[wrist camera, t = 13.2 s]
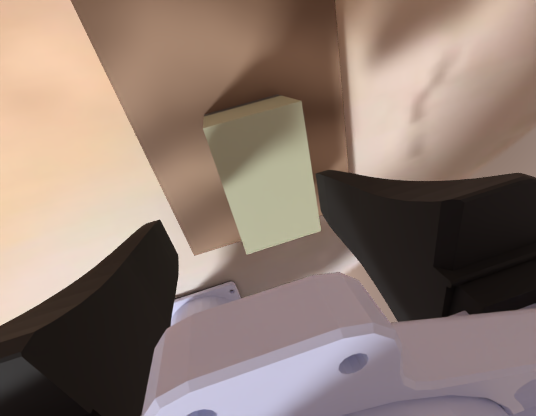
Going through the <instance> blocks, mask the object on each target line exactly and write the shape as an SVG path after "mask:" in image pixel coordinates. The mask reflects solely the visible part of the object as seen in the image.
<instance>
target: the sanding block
mask: <svg viewBox="0 0 536 416" xmlns="http://www.w3.org/2000/svg"><path fill="white" fill-rule="evenodd" d="M203 131H204V133H205V136H206V139H207V142H208V145H209V148H210V151H211V154H212V156H213V159H214V162H215V165H216V168H217V171H218V174H219V177H220V179H221V182H222V185H223V188H224V191H225V194H226V197H227V200H228V202H229V205H230V208H231V211H232V214H233V217H234V220H235V223H236V225H237V228H238V231H239V234H240V237H241V240H242V243H243V246H244V248H245V251H246V254H247V255H248V254H251V253H254V252H257V251H260V250H263V249H266V248H270V247H273V246H276V245H279V244H282V243H285V242H288V241H292V240H295V239H298V238H301V237H304V236H307V235H310V234H313V233H317V232H320V231H321V226H320V220H319V213H318V207H317V200H316V194H315V187H314V180H313V174H312V167H311V161H310V154H309V148H308V141H307V135H306V128H305V121H304V115H303V108H302V102H301V101H300V100H296V99H293V98H289V97H285V96H282V95H278V94H277V95H273V96H270V97H266V98H262V99H259V100H255V101H252V102H248V103H244V104H241V105H237V106H233V107H230V108H226V109H222V110H219V111H215V112H212V113H208V114H204V120H203Z"/></svg>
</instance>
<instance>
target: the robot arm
mask: <svg viewBox="0 0 536 416" xmlns="http://www.w3.org/2000/svg"><path fill="white" fill-rule="evenodd" d="M316 181H317V188H318V195H319V202H320V209H321V213H322V214H323V216H324V218H325V219H326V221H327V223H328V224H329V226H330V227H331V228H332V230H333V231H334V232H335V233H336V234H337V236H338V237H339V238H340V239H341V240H342V241H343V243H344V244H345V245H346V246H347V247H348V248H349V250H350V251H351V252H352V253H353V254H354V256H355V257H356V258H357V259H358V260H359V262H360V263H361V264H362V266H363V267H364V268H365V270H366V271H367V273H368V275H369V276H370V278H371V279H372V280H373V282H374V284H375V285H376V287H377V288H378V290H379V291H380V293H381V295H382V296H383V298H384V299H385V301H386V303H387V304H388V306H389V308H390V309H391V311H392V312H393V314H394V316H395V318H396V319H397V321H398V322H392V323H390V322H389V320H388V319H387V318H386V316H385V315H384V314H383V312H382V311H381V310H380V308H379V307H378V306H377V304H376V303H375V302H374V300H373V299H372V297H371V296H370V295H369V293H368V292H367V291H366V289H365V288H364V287H363V285H362V284H361V283H360V281H359V280H357V279H355V278H352V277H350V276H347V275H345V274H342V273H340V272H336V273H327V274H319V275H311V276H308V277H305V278H302V279H299V280H296V281H293V282H290V283H287V284H284V285H281V286H278V287H274V288H271V289H268V290H265V291H262V292H259V293H256V294H253V295H250V296H247V297H244V298H241V297H240V294H239V292H238V289H237V287H236V284H235V283H234V282H227V283H224V284H221V285H218V286H215V287H212V288H209V289H206V290H203V291H200V292H197V293H194V294H191V295H188V296H185V297H181V298H178V299H175V294H176V287H177V281H178V267H179V265H178V254H177V252H176V250H175V248H174V246H173V244H172V242H171V240H170V238H169V236H168V234H167V232H166V230H165V228H164V226H163V224H162V222H161V221H160V220H157V221H154V222H150V223H147V224H145V225H143V226H142V227H141V228H139V229H138V230H137V231H136V232H135V233H133V234H132V235H131V236H130V237H129V238H128V239H127V240H126V241H124V242H123V243H122V244H121V245H120V246H119V247H118V248H117V249H115V250H114V251H113V252H112V253H111V254H110V255H108V256H107V257H106V258H105V259H104V260H102V261H101V262H100V263H99V264H98V265H96V266H95V267H94V268H93V269H91V270H90V271H89V272H87V273H86V274H85V275H83V276H82V277H81V278H79V279H78V280H76V281H75V282H74V283H72V284H71V285H69V286H68V287H66V288H65V289H63V290H62V291H60V292H58V293H57V294H55V295H54V296H52V297H50V298H49V299H47V300H46V301H44V302H42V303H41V304H39V305H37V306H36V307H34V308H32V309H30V310H29V311H27V312H25V313H23V314H22V315H20V316H18V317H16V318H14V319H12V320H11V321H9V322H7V323H5V324H3V325H1V326H0V416H536V178H535V177H532V176H529V175H526V174H522V173H513V174H505V175H498V176H492V177H483V178H476V179H464V180H451V181H402V180H389V179H381V178H374V177H368V176H362V175H357V174H352V173H347V172H342V171H336V170H326V171H322V172H319V173H316ZM230 290H233V291H230Z"/></svg>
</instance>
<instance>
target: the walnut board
mask: <svg viewBox="0 0 536 416" xmlns="http://www.w3.org/2000/svg"><path fill="white" fill-rule="evenodd" d="M71 2H72V4H73V6H74V8H75V10H76V12H77V14H78V16H79V18H80V20H81V23H82V25H83V27H84V29H85V31H86V33H87V35H88V37H89V39H90V41H91V43H92V45H93V47H94V49H95V51H96V54H97V56H98V58H99V60H100V62H101V64H102V66H103V68H104V70H105V72H106V74H107V76H108V78H109V80H110V82H111V85H112V87H113V89H114V91H115V93H116V95H117V97H118V99H119V101H120V103H121V105H122V107H123V109H124V111H125V113H126V115H127V118H128V120H129V122H130V124H131V126H132V128H133V130H134V132H135V134H136V136H137V138H138V140H139V142H140V144H141V146H142V149H143V151H144V153H145V155H146V157H147V159H148V161H149V163H150V165H151V167H152V169H153V171H154V173H155V175H156V177H157V180H158V182H159V184H160V186H161V188H162V190H163V192H164V194H165V196H166V198H167V200H168V202H169V204H170V206H171V208H172V210H173V213H174V215H175V217H176V219H177V221H178V223H179V225H180V227H181V229H182V231H183V233H184V235H185V237H186V239H187V241H188V244H189V246H190V248H191V250H192V252H193V254H194V256H195V255H198V254H202V253H205V252H208V251H211V250H214V249H217V248H221V247H224V246H227V245H230V244H233V243H236V242H239V241H242V240H241V237H240V234H239V231H238V228H237V225H236V223H235V220H234V217H233V214H232V211H231V208H230V205H229V202H228V200H227V197H226V194H225V191H224V188H223V185H222V182H221V179H220V177H219V174H218V171H217V168H216V165H215V162H214V159H213V156H212V154H211V151H210V148H209V145H208V142H207V139H206V136H205V133H204V131H203V120H204V114H208V113H212V112H215V111H219V110H222V109H226V108H230V107H233V106H237V105H241V104H244V103H248V102H252V101H255V100H259V99H262V98H266V97H270V96H273V95H277V94H278V95H282V96H285V97H289V98H293V99H296V100H300V101H301V102H302V108H303V115H304V121H305V128H306V135H307V141H308V148H309V154H310V161H311V167H312V174H313V180H314V187H315V194H316V200H317V207H318V213H319V216H321V215H323V214H322V213H321V209H320V202H319V195H318V188H317V181H316V173H319V172H322V171H326V170H336V171H342V172H347V173H349V171H348V158H347V146H346V134H345V121H344V109H343V96H342V84H341V71H340V59H339V47H338V34H337V22H336V9H335V0H71Z"/></svg>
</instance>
